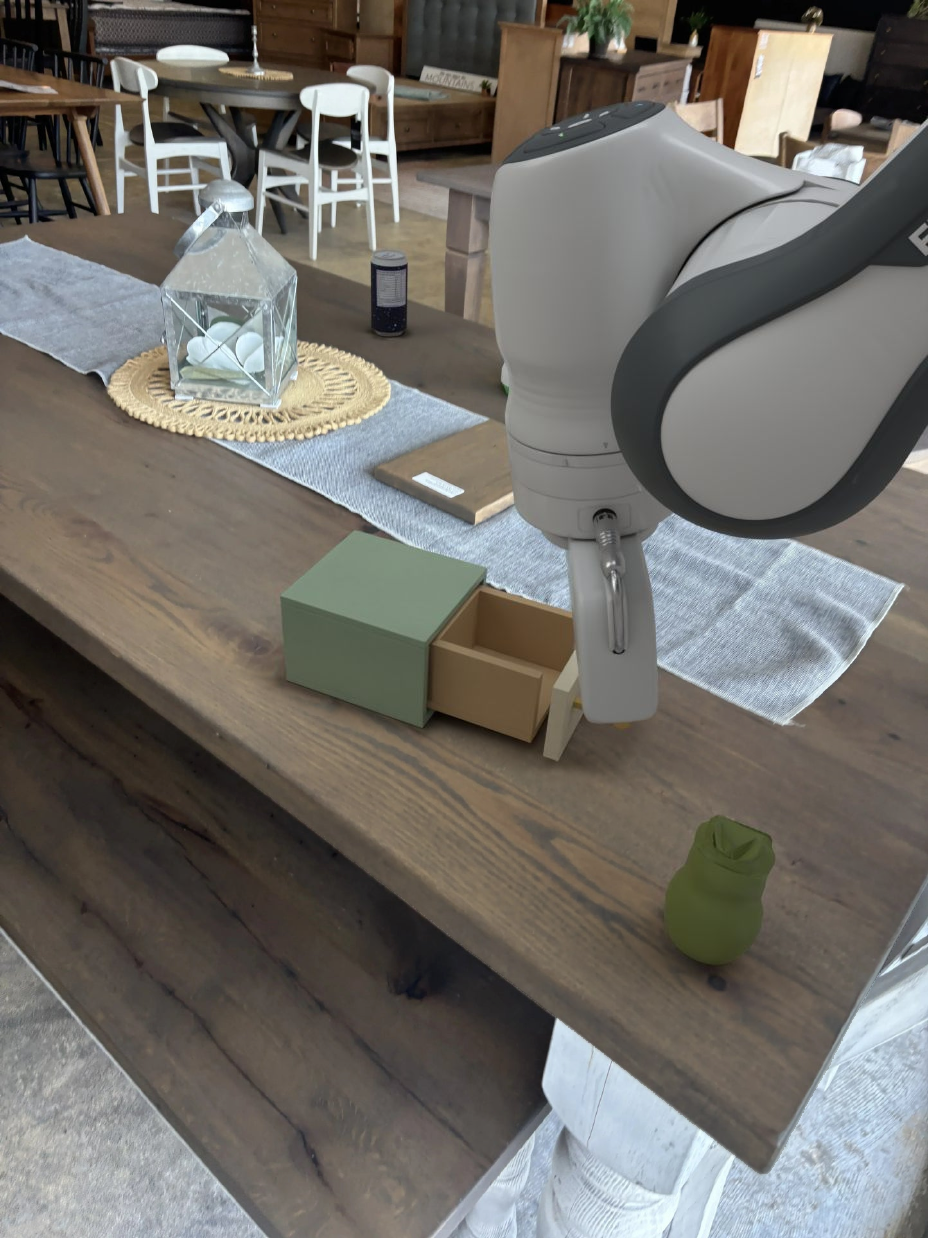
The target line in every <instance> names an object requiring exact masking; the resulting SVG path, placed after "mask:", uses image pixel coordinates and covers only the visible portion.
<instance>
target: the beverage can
mask: <svg viewBox="0 0 928 1238" xmlns="http://www.w3.org/2000/svg"><path fill="white" fill-rule="evenodd" d="M372 255H373V256H372V258H371V260H370V327H371V329H372V330H374V332H375V333H376V334H377V335H378V336H382V337H388V338H389V337H391V338H392V337H398V336H401V335H402V334H403V332H404V331H406V330H407V328H408V280H409V276H408V274H409V272H408V271H409V263H408V261H407V258H406V253H405V252H403V251H401V250H396V249H380V250H375V251H374V252H373V253H372Z"/></svg>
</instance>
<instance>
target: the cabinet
mask: <svg viewBox="0 0 928 1238" xmlns="http://www.w3.org/2000/svg"><path fill="white" fill-rule="evenodd" d="M487 577H488V567H487V566H482V565H479V564H476V563H475V564H474V563H473V562H468V561H466V560H461V559H458V558H454V557H451V556H448V555H444V554H441V553H437V552H433V551H430V550H426V549H424V548H419V547H416V546H412V545H409V544H405V543H402V542H399V541H395V540H392V539H388V538H386V537H385V538H384V537H381V536H377V535H375V534H370V533H367V532H364V531H360V530H356V529H354V530H353V531H352V532H350V533H349V534H348V535H347V536H346V537H345V538H344V539H343V540H341V541H340V542H339V543H337V545H336V546H334V547H333V548H332V549H331V550H330V551H329V552H327V554H325V555H324V556H323V557H322V558H320V560H319V561H317V562H316V563H315V564H314V565H313V566H311V568H309V569H308V570H307V571H306V572H305V573H304V574H302V575H301V576H300V577H299V578H298V579H297V580H296V581H294V582H293V584H291V585H290V586H289V587H288V588H286V589H285V590H284V591H283V592H282V593H281V594H280V595H279V599H280V600H279V601H280V602H279V603H280V614H281V627H282V640H283V652H284V665H285V666H284V667H285V680H286V681H288V682H290V683H293V684H295V685H299V686H301V687H305V688H307V689H310V690H313V691H316V692H318V693H321V694H325V695H327V696H330V697H333V698H335V699H338V700H341V701H344V702H347V703H349V704H353V705H355V706H358V707H361V708H364V709H366V710H370V711H372V712H375V713H378V714H381V715H383V716H387V717H389V718H392V719H395V720H398V721H401V722H403V723H406V724H410V725H412V726H414V727H417V728H421V729H423V728H424V727H425V725H426V724H427V723H428V721H429V720H430V719H431V717H432V716H433V714H434V713H435V712H436V710H433V709H430V708H428V707H427V685H428V659H429V644H430V643H431V641H432V640H433V639H434V638H435V637H436V635H437V634H438V633H439V632H440V631H441V629H442V628H443V627H444V626H445V624H446V623H447V622H448V621H449V620H450V618H451V617H452V616H453V615H454V614H455V612H456V611H457V610H458V609H459V608H460V606H461V605H462V604H463V603H464V601H465V600H466V599H467V598H468V597H469V595H470V594H471V593H472V592H473V591H474V589H475V588H476V587H477V586H478V584H479V585H482V586H485V587H487V579H488V578H487Z"/></svg>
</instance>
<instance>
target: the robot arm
mask: <svg viewBox="0 0 928 1238" xmlns="http://www.w3.org/2000/svg"><path fill="white" fill-rule="evenodd" d="M488 235H489V237H488V239H489V267H490V268H489V269H490V271H489V272H490V286H491V287H490V288H491V301H492V311H493V312H492V313H493V322H494V323H493V324H494V334H495V341H496V344H497V347H498V350H499V353H500V354H501V357H502V359H503V361H504V362H505V364H506V367H507V371H508V378H509V394H507V400H506V404H505V409H504V423H505V432H506V440H507V441H506V442H507V449H508V450H507V451H508V459H509V467H510V477H511V486H512V494H513V504H514V507H515V510H516V512H517V514H518V515H519V516H520V518H521V519H523V520H524V521H525V522H526V524H528V525H530V526H531V527H533V528H535V529H537V530H539V531H540V532H541V534H542V536H543V537H544V538H545V539H546V540H547V541H548V542H550V544H552V545H554V546H556V547H558V548H560V549H562V550H564V552H565V559H566V560H565V562H566V570H567V571H566V572H567V579H568V580H567V581H568V589H569V591H568V592H569V598H570V599H569V600H570V608H571V612H572V619H573V628H574V637H575V645H574V648H575V649H576V656H577V665H578V675H579V684H580V694H581V703H582V709H583V712H584V713H583V715H584V717H585V719H586V720H587V721H588V722H589V723H592V724H612V723H623V722H631V723H632V722H639V721H646V720H649V719H651V718H652V717H654V715H655V714H656V712H657V709H658V707H659V706H658V705H659V679H658V677H659V676H658V650H657V649H658V648H657V647H658V646H657V626H656V625H657V624H656V612H655V611H656V610H655V601H654V593H653V588H652V583H651V582H652V581H651V579H650V574H649V569H648V565H647V561H646V557H645V553H644V552H645V551H644V548H643V544H642V543H643V542H645V541H646V540H648V539H649V538H650V537H652V535H653V534H654V533H655V532H656V531H657V529H658V526H659V524H660V523H662V522H664V521H665V520H666V519H667V518H669V517H670V516H671V515H672V514H675V515H676V516H678V517H680V518H681V519H684V521H687V522H689V523H691V524H693V525H695V526H698V527H700V528H703V529H705V530H708V531H710V532H714V533H717V534H721V535H724V536H729V537H734V538H740V539H748V540H758V541H760V540H761V541H771V540H773V541H774V540H776V541H777V540H787V539H795V538H800V537H805V536H808V535H812V534H813V535H814V534H816V533H818V532H822V531H824V530H827V529H830V528H833V527H835V526H837V525H838V524H841V523H843V522H844V521H846V520H848V519H850V518H852V517H853V516H855V515H856V514H858V513H859V512H861V511H863V509H865V508H866V507H867V506H869V505H870V504H871V503H872V502H874V500H876V499H877V498H878V496H879V495H880V494H881V493H882V492H883V491H884V490H885V489H886V488H887V487H888V485H889V484H890V483H891V482H892V480H893V479H894V478H895V477H896V476H897V474H898V472H900V470H901V469H902V467H903V466H904V464H905V462H906V461H907V459H908V458H909V457H910V455H911V453H912V451H913V450H914V448H915V447H916V445H917V444H918V442H919V440H920V439H921V437H922V436H923V434H924V432H925V431H926V429H927V427H928V118H927V119H925V121H923V122H922V123H921V125H919V127H918V128H916V129H915V130H914V131H913V133H911V134H910V135H909V136H908V137H907V138H906V139H905V140H904V141H903V142H902V143H901V144H900V145H899V146H898V147H897V148H896V149H895V150H894V152H892V153H891V154H890V155H889V156H888V157H887V158H886V159H885V160H884V161H883V162H881V164H880V165H879V166H878V167H877V168H876V169H875V170H874V171H873V172H872V173H871V174H870V175H869V176H868V177H867V178H866V179H865V180H864V181H863V182H862V183H861V184H860V183H857V182H855V181H852V180H849V179H846V178H841V177H835V176H826V175H816V174H813V173H808V172H805V171H799V170H795V169H792V168H787V167H784V166H779V165H776V164H772V163H769V162H766V161H763V160H761V159H758V158H755V157H752V156H750V155H747V154H744V153H741V152H740V151H737V150H735V149H733V148H731V147H728V146H727V145H725V144H722V143H721V142H719V141H717V140H715V139H712V138H711V137H709V136H707V135H706V134H704V133H702V132H701V131H699V130H698V129H696V128H694V127H693V126H691V125H690V124H689V123H688V122H687V121H686V120H684V119H683V118H682V117H681V115H679V114H678V113H677V112H676V111H675V110H674V109H673V107H670V106H669V105H668V104H665V103H663V102H658V101H652V100H649V99H648V100H633V101H625V102H619V103H615V104H610V105H605V106H601V107H598V108H595V109H594V108H593V109H592V110H587V111H585V112H582V113H578V114H576V115H573V116H570V117H567V118H564V119H562V120H561V121H560V122H558V123H555V124H553V125H550V126H545V127H544V128H542V129H540V130H538V131H536V132H535V133H533V134H531V135H530V136H529V137H528V138H526V139H525V140H523V141H522V142H521V143H520V144H519V145H517V146H516V147H515V148H513V150H512V151H511V152H510V153H509V154H508V155H507V156H506V157H505V158H504V159H503V160H502V163H501V165H500V166H499V168H498V169H497V170H496V172H495V175H494V178H493V182H492V188H491V195H490V208H489V234H488Z"/></svg>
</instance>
